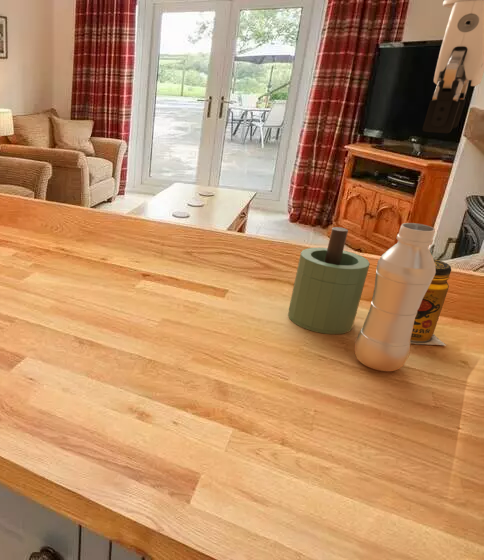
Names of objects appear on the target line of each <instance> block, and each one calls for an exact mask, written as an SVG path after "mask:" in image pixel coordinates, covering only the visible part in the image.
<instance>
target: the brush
mask: <svg viewBox="0 0 484 560" xmlns="http://www.w3.org/2000/svg"><path fill="white" fill-rule="evenodd" d="M348 233H349V229H348V228H345V227H341V226H340V227H339V226H334V227H332V228H331V232H330V236H329V240H328V244H327V247H326V248H327V253H326V257H325V261H324V262H325V263H329V264H335V265H340V262H341V258H342V254H343V250H344V249H345V247H346V246H345V245H346V241H347V238H348ZM344 251H345V250H344Z"/></svg>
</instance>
